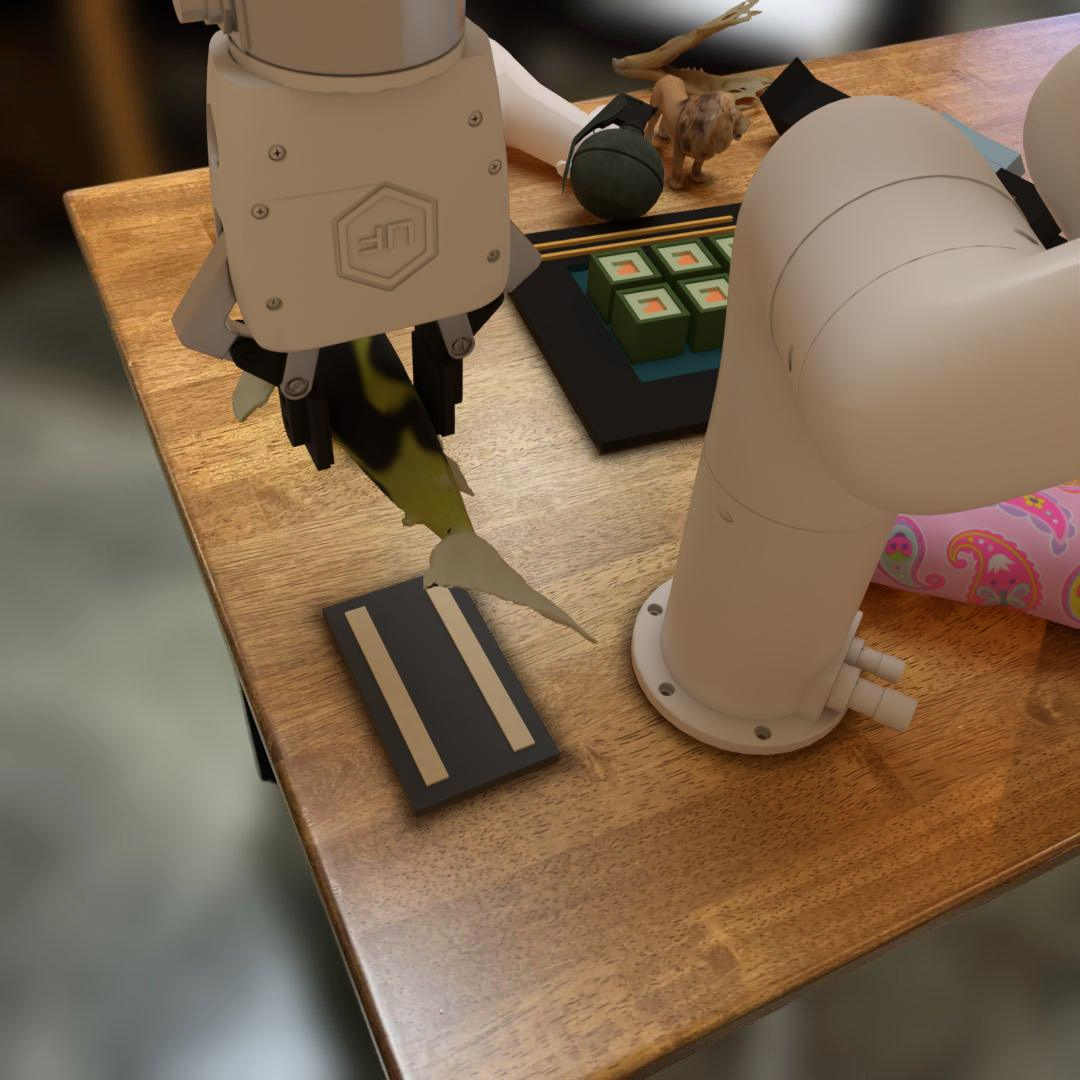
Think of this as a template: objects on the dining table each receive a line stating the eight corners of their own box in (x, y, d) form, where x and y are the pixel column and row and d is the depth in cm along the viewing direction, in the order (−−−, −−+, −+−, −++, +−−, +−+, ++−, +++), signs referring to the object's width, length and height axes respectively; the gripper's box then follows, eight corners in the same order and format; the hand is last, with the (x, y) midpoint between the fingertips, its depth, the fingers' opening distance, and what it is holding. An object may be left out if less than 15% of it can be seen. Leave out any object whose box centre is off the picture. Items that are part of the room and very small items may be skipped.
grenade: (635, 247, 94) (668, 144, 96) (665, 208, 86) (700, 98, 88) (544, 209, 92) (580, 106, 94) (567, 167, 85) (605, 56, 87)
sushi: (759, 208, 96) (768, 169, 93) (919, 387, 80) (935, 345, 78) (483, 249, 89) (484, 208, 86) (600, 453, 74) (606, 410, 71)
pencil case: (773, 563, 62) (814, 405, 61) (765, 554, 71) (801, 416, 70) (1171, 664, 59) (1220, 498, 58) (1111, 641, 68) (1152, 497, 67)
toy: (817, 34, 100) (1089, 163, 82) (843, 92, 106) (1102, 224, 88) (738, 118, 101) (988, 264, 83) (768, 171, 107) (1008, 319, 89)
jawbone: (748, 117, 106) (788, 90, 113) (754, 8, 100) (796, -14, 107) (602, 101, 113) (648, 76, 120) (600, -1, 107) (648, -21, 114)
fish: (108, 309, 50) (270, 362, 58) (358, 736, 40) (512, 726, 48) (249, 109, 46) (401, 197, 55) (565, 522, 36) (692, 552, 44)
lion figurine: (743, 198, 97) (764, 99, 91) (692, 210, 96) (710, 110, 89) (656, 123, 106) (670, 27, 99) (608, 132, 104) (619, 35, 98)
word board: (322, 616, 63) (321, 605, 62) (452, 574, 66) (452, 563, 65) (416, 819, 55) (415, 808, 54) (559, 761, 58) (561, 750, 57)
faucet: (468, 3, 97) (359, 78, 90) (662, 94, 92) (563, 182, 85) (465, 94, 105) (363, 171, 97) (643, 184, 100) (551, 272, 92)
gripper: (87, 87, 30) (201, 548, 43) (639, 7, 35) (589, 436, 49) (39, -19, 34) (156, 429, 47) (537, -75, 40) (516, 339, 53)
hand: (375, 429), depth 48 cm, fingers closed on fish, 4 cm apart
